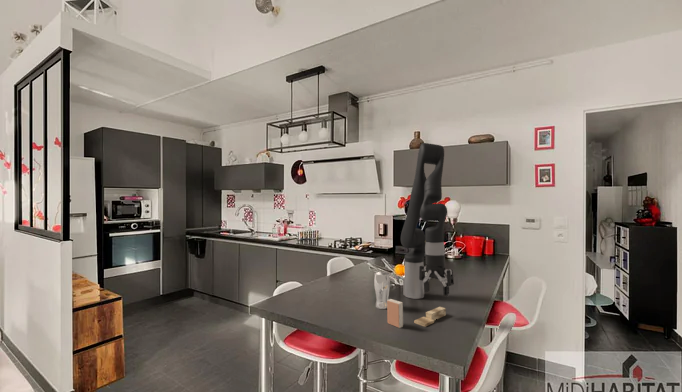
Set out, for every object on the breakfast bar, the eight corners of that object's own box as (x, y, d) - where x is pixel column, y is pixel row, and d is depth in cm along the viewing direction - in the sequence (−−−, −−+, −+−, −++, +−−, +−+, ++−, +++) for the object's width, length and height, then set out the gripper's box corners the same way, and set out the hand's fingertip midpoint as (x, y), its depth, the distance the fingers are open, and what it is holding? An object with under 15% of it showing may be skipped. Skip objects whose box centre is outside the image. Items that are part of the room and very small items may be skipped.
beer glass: (372, 308, 136) (372, 274, 137) (376, 303, 143) (376, 271, 143) (388, 310, 134) (388, 275, 134) (391, 305, 140) (391, 272, 141)
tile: (387, 323, 120) (386, 300, 120) (391, 321, 121) (390, 298, 121) (399, 328, 115) (398, 303, 115) (403, 326, 117) (402, 302, 117)
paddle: (437, 313, 130) (437, 305, 130) (448, 316, 126) (448, 308, 126) (414, 323, 120) (414, 315, 120) (425, 326, 116) (424, 318, 116)
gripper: (414, 252, 128) (415, 292, 127) (445, 256, 117) (447, 299, 116) (425, 250, 133) (426, 288, 132) (456, 253, 122) (457, 295, 121)
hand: (436, 293), depth 124 cm, fingers open, 8 cm apart
